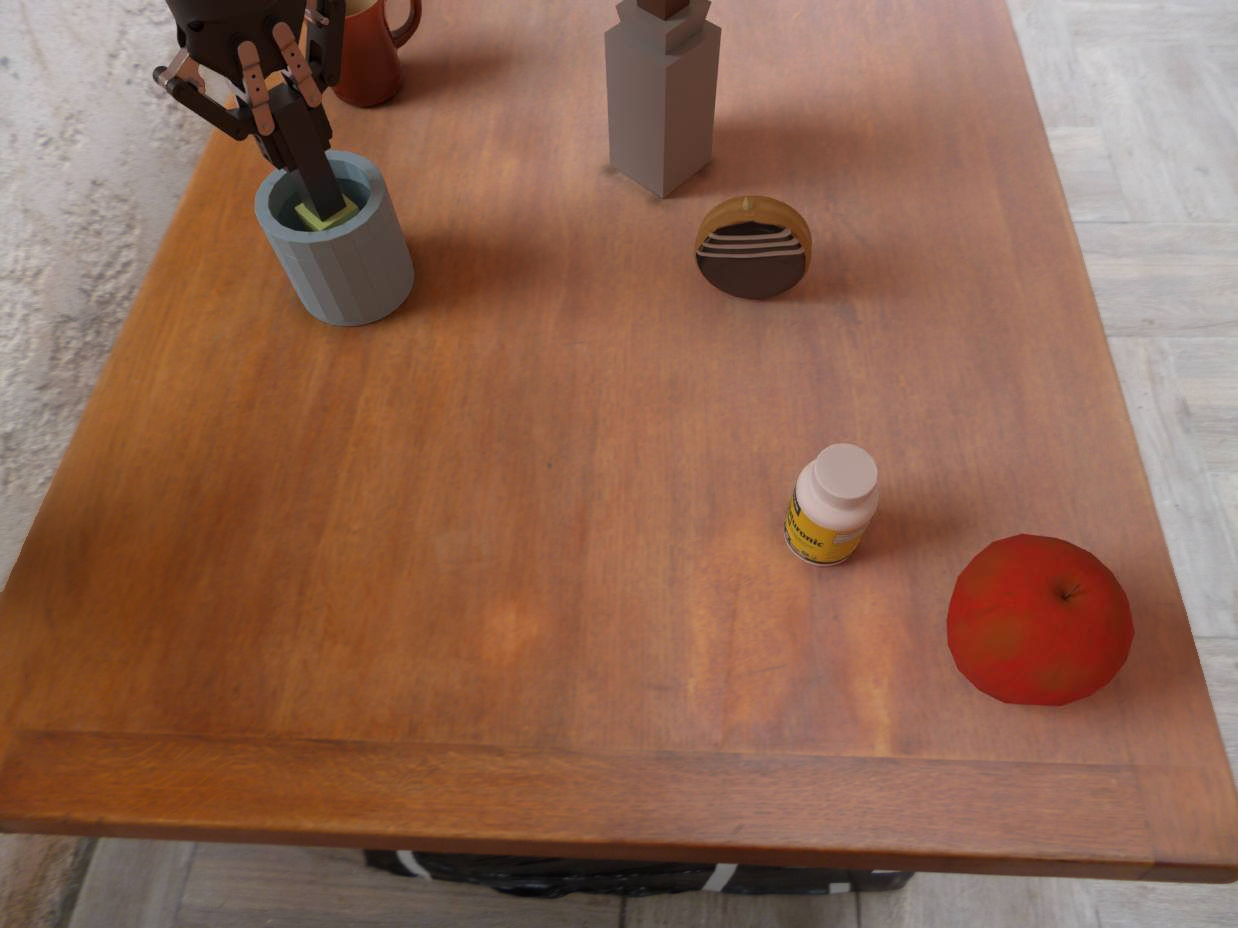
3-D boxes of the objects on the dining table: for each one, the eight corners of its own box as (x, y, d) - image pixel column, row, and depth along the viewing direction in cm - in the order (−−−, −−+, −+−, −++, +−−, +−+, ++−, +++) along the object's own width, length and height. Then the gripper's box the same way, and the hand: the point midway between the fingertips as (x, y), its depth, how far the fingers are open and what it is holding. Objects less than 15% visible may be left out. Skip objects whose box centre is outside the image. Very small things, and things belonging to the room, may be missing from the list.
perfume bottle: (710, 161, 81) (726, -27, 65) (662, 199, 79) (667, 13, 63) (657, 129, 83) (661, -60, 68) (610, 165, 81) (601, -22, 65)
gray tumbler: (344, 346, 71) (303, 263, 62) (277, 283, 75) (229, 196, 66) (437, 280, 74) (410, 192, 66) (369, 222, 78) (334, 132, 69)
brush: (335, 263, 69) (270, 122, 57) (309, 240, 70) (241, 98, 58) (370, 239, 70) (315, 96, 58) (345, 217, 71) (285, 73, 60)
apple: (921, 571, 60) (976, 496, 50) (1068, 583, 59) (1154, 510, 49) (932, 716, 55) (996, 665, 45) (1092, 731, 54) (1194, 683, 44)
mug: (347, 128, 84) (312, 32, 76) (312, 81, 88) (275, -16, 79) (454, 83, 88) (433, -15, 79) (416, 40, 91) (391, -59, 82)
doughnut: (689, 296, 73) (695, 209, 64) (695, 264, 75) (702, 175, 66) (799, 311, 72) (821, 224, 63) (803, 278, 74) (825, 189, 65)
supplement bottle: (768, 516, 62) (788, 448, 54) (834, 490, 63) (863, 420, 55) (803, 580, 60) (830, 520, 51) (871, 552, 61) (908, 489, 52)
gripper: (262, -163, 51) (349, 88, 66) (48, -66, 47) (194, 180, 62) (335, -118, 49) (409, 133, 64) (115, -11, 44) (251, 232, 59)
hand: (302, 155), depth 63 cm, fingers closed on brush, 2 cm apart
